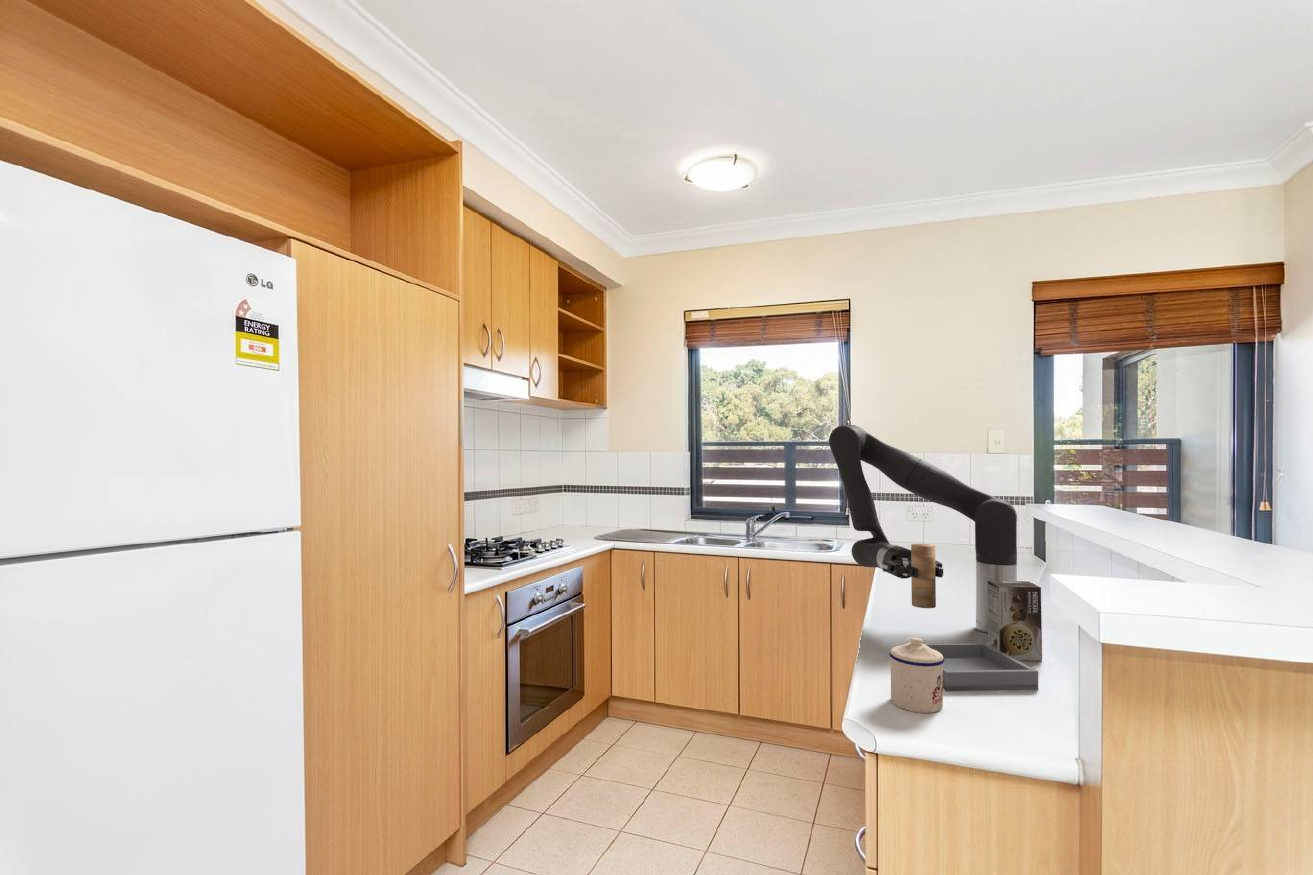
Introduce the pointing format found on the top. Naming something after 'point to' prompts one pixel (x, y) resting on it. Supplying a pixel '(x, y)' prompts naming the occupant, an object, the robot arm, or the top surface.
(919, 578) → the oak cylinder
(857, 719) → the top surface
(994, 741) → the top surface
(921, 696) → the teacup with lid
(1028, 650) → the coffee box
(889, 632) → the top surface
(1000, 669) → the bin
